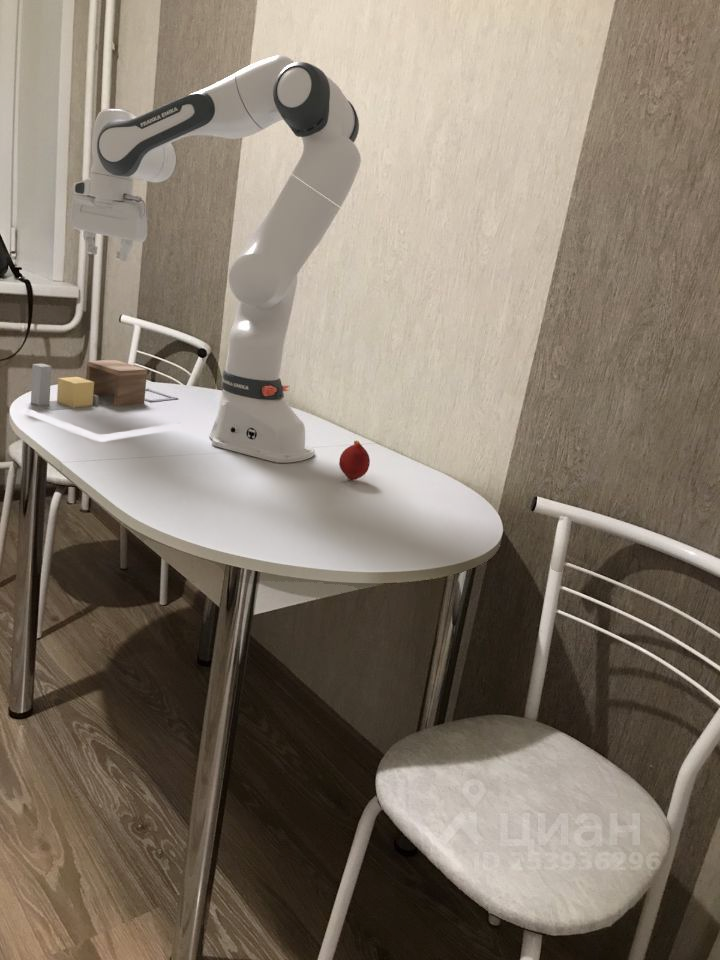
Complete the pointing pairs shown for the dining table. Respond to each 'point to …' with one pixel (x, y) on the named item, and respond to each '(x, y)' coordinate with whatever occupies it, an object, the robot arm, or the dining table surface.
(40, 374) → the grey angled piece
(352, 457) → the onion
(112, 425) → the dining table surface
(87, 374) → the brown wooden box
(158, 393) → the thin grey frame
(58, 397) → the block
